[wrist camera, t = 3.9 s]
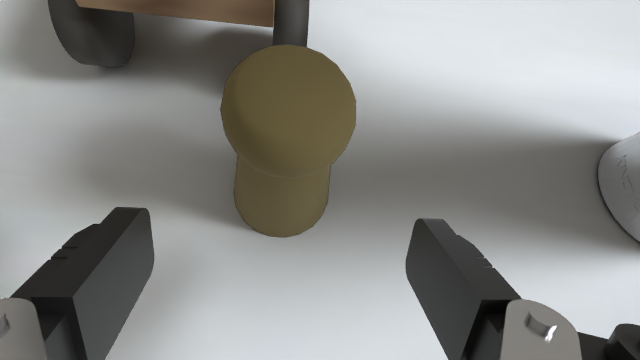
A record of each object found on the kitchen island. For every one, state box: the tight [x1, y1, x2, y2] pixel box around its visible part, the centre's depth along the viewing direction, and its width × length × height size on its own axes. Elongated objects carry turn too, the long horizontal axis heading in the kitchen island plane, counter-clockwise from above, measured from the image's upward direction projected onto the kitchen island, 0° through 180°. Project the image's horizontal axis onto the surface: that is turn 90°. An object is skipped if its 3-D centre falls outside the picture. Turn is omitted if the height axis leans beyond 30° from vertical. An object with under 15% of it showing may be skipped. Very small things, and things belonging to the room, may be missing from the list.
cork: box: [220, 44, 356, 238], centre depth 17 cm, size 6×6×11 cm
